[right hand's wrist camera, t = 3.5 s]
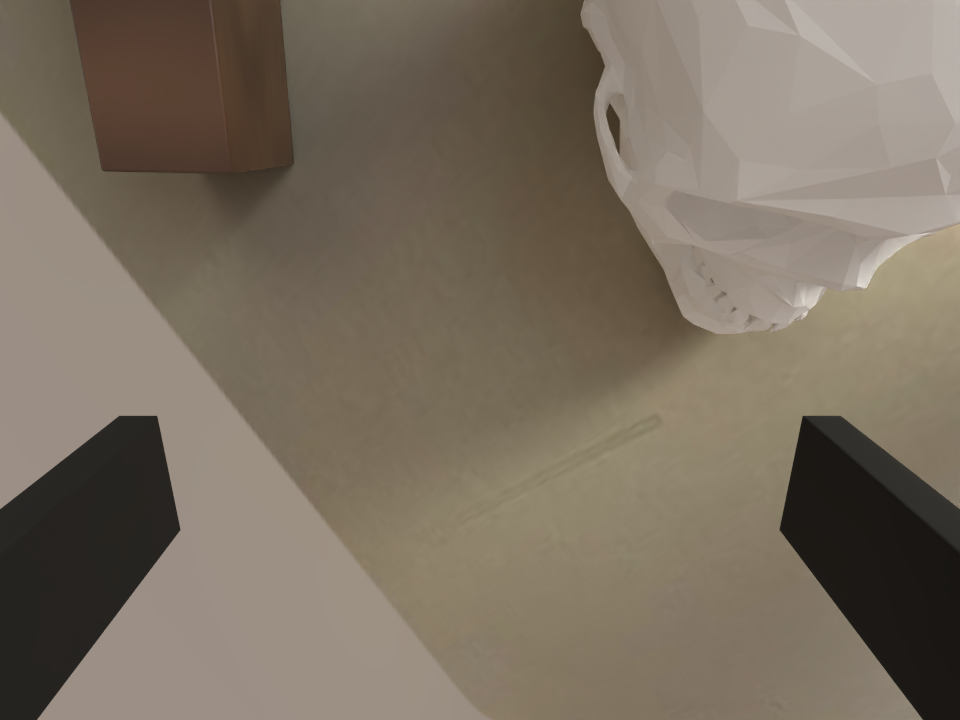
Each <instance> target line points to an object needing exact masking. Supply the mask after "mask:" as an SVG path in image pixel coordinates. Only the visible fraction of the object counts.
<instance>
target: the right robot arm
mask: <svg viewBox="0 0 960 720" xmlns="http://www.w3.org/2000/svg"><path fill="white" fill-rule="evenodd" d="M179 531H180V525H179V521H178V516H177V511H176V506H175V501H174V496H173V491H172V486H171V481H170V476H169V472H168V467H167V462H166V457H165V452H164V447H163V442H162V437H161V432H160V428H159V423H158V418H157V416H119V417H118V418H116V419H115V420H114V421H112V422H111V423H110V424H109V425H107V426H106V427H105V428H103V429H102V430H101V431H100V432H98V433H97V434H96V435H94V436H93V437H92V438H91V439H89V440H88V441H87V442H86V443H84V444H83V445H82V446H81V447H79V448H78V449H77V450H75V451H74V452H73V453H72V454H70V455H69V456H68V457H66V458H65V459H64V460H63V461H61V462H60V463H59V464H58V465H56V466H55V467H54V468H52V469H51V470H50V471H49V472H47V473H46V474H45V475H44V476H42V477H41V478H40V479H38V480H37V481H36V482H35V483H33V484H32V485H31V486H29V487H28V488H27V489H26V490H24V491H23V492H22V493H20V494H19V495H18V496H17V497H15V498H14V499H13V500H12V501H10V502H9V503H8V504H6V505H5V506H4V507H3V508H1V509H0V720H37V719H38V717H39V716H40V715H41V714H42V712H43V711H44V710H45V708H46V707H47V706H48V704H49V703H50V702H51V700H52V699H53V698H54V696H55V695H56V694H57V692H58V691H59V690H60V689H61V687H62V686H63V684H64V683H65V682H66V681H67V679H68V678H69V677H70V675H71V674H72V673H73V671H74V670H75V669H76V667H77V666H78V665H79V663H80V662H81V661H82V659H83V658H84V657H85V655H86V654H87V653H88V651H89V650H90V649H91V648H92V646H93V645H94V644H95V642H96V641H97V640H98V638H99V637H100V636H101V634H102V633H103V632H104V630H105V629H106V628H107V626H108V625H109V624H110V622H111V621H112V620H113V618H114V617H115V616H116V614H117V613H118V612H119V610H120V609H121V608H122V606H123V605H124V604H125V603H126V601H127V600H128V599H129V597H130V596H131V595H132V593H133V592H134V591H135V589H136V588H137V587H138V585H139V584H140V583H141V581H142V580H143V579H144V577H145V576H146V575H147V573H148V572H149V571H150V569H151V568H152V567H153V565H154V564H155V563H156V562H157V560H158V559H159V558H160V556H161V555H162V554H163V552H164V551H165V550H166V548H167V547H168V546H169V544H170V543H171V542H172V540H173V539H174V538H175V536H176V535H177V534H178V532H179ZM780 531H781V532H782V534H783V535H784V536H785V538H786V539H787V540H788V542H789V543H790V544H791V546H792V547H793V548H794V550H795V551H796V552H797V554H798V555H799V556H800V558H801V559H802V560H803V562H804V563H805V564H806V565H807V567H808V568H809V569H810V571H811V572H812V573H813V575H814V576H815V577H816V579H817V580H818V581H819V583H820V584H821V585H822V587H823V588H824V589H825V591H826V592H827V593H828V595H829V596H830V597H831V599H832V600H833V601H834V603H835V604H836V605H837V606H838V608H839V609H840V610H841V612H842V613H843V614H844V616H845V617H846V618H847V620H848V621H849V622H850V624H851V625H852V626H853V628H854V629H855V630H856V632H857V633H858V634H859V636H860V637H861V638H862V640H863V641H864V642H865V644H866V645H867V646H868V648H869V649H870V650H871V651H872V653H873V654H874V655H875V657H876V658H877V659H878V661H879V662H880V663H881V665H882V666H883V667H884V669H885V670H886V671H887V673H888V674H889V675H890V677H891V678H892V679H893V681H894V682H895V683H896V685H897V686H898V687H899V689H900V690H901V691H902V692H903V694H904V695H905V696H906V698H907V699H908V700H909V702H910V703H911V704H912V706H913V707H914V708H915V710H916V711H917V712H918V714H919V715H920V716H921V718H922V719H923V720H960V509H959V508H957V507H956V506H955V505H954V504H952V503H951V502H950V501H948V500H947V499H946V498H945V497H943V496H942V495H941V494H940V493H938V492H937V491H936V490H934V489H933V488H932V487H931V486H929V485H928V484H927V483H925V482H924V481H923V480H922V479H920V478H919V477H918V476H917V475H915V474H914V473H913V472H911V471H910V470H909V469H908V468H906V467H905V466H904V465H903V464H901V463H900V462H899V461H897V460H896V459H895V458H894V457H892V456H891V455H890V454H888V453H887V452H886V451H885V450H883V449H882V448H881V447H880V446H878V445H877V444H876V443H874V442H873V441H872V440H871V439H869V438H868V437H867V436H866V435H864V434H863V433H862V432H860V431H859V430H858V429H857V428H855V427H854V426H853V425H851V424H850V423H849V422H848V421H846V420H845V419H844V418H843V417H841V416H803V418H802V423H801V427H800V432H799V437H798V442H797V447H796V452H795V457H794V462H793V467H792V472H791V476H790V481H789V486H788V491H787V496H786V501H785V506H784V511H783V516H782V521H781V525H780Z"/></svg>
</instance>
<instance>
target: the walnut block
mask: <svg viewBox="0 0 960 720" xmlns="http://www.w3.org/2000/svg"><path fill="white" fill-rule="evenodd" d="M70 4H71V9H72V14H73V20H74V25H75V30H76V36H77V41H78V46H79V51H80V57H81V62H82V67H83V73H84V78H85V83H86V89H87V94H88V99H89V104H90V110H91V115H92V120H93V126H94V131H95V136H96V141H97V147H98V152H99V157H100V163H101V168H102V170H103V171H108V172H157V173H207V174H234V173H240V172H247V171H253V170H260V169H267V168H273V167H280V166H287V165H292V164H293V163H294V161H293V150H292V138H291V126H290V114H289V102H288V90H287V78H286V66H285V54H284V42H283V30H282V18H281V7H280V0H70Z"/></svg>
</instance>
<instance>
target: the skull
mask: <svg viewBox="0 0 960 720" xmlns="http://www.w3.org/2000/svg"><path fill="white" fill-rule="evenodd" d="M580 16H581V20H582V24H583V27H584V28H585V29H587V30H588V32H589V34H590V36H591V38H592V40H593V42H594V44H595V46H596V48H597V50H598V51H599V52H600V53H601V56H602V59H603V62H604V64H605V68H604V71H603V74H602V77H601V80H600V83H599V85H598V88H597V90H596V92H595V101H594V111H593V114H594V121H595V128H596V134H597V139H598V143H599V147H600V150H601V154H602V158H603V162H604V166H605V170H606V174H607V177H608V180H609V182H610V183H611V185H612V187H613V188H614V190H615V192H616V193H617V195H618V196H619V198H620V200H621V201H622V202H623V204H624V205H625V206H626V207H627V208H628V210H629V211H630V213H631V215H632V217H633V219H634V221H635V223H636V226H637V228H638V230H639V231H640V233H641V234H642V236H643V238H644V239H645V241H646V242H647V244H648V246H649V247H650V249H651V250H652V252H653V254H654V255H655V257H656V258H657V260H658V262H659V263H660V265H661V266H662V268H663V270H664V272H665V275H666V277H667V280H668V283H669V285H670V288H671V290H672V292H673V295H674V297H675V300H676V302H677V304H678V306H679V309H680V311H681V313H682V316H683V317H684V318H686V319H687V320H688V321H690V322H691V323H692V324H694V325H696V326H698V327H701V328H703V329H706V330H708V331H711V332H713V333H716V334H719V335H722V334H736V333H744V332H749V331H766V330H768V329H769V328H771V323H775V324H774V325H773V327H772V329H771V330H770V332H773V331H776V330H780V329H783V328H786V327H788V326H789V325H790V323H792V322H793V321H794V320H802V319H803V318H804V317H806V315H807V313H808V310H810V309H811V308H812V307H813V306H814V305H815V304H816V303H817V302H818V301H819V299H820V298H821V297H822V295H823V294H824V293H825V291H826V290H827V288H829V289H833V290H836V291H839V292H843V291H851V290H859V289H866V288H867V286H868V284H869V282H870V280H871V278H872V276H873V275H874V273H875V271H876V269H877V267H878V266H880V265H881V264H882V263H883V262H885V261H886V260H887V259H888V258H890V257H891V256H892V255H893V254H895V253H896V252H897V251H898V250H900V249H901V248H902V247H904V246H905V245H907V244H909V243H911V242H913V241H916V240H919V239H921V238H924V237H927V236H930V235H933V234H935V233H937V232H939V231H941V230H943V229H945V228H948V227H951V226H953V225H956V224H959V223H960V0H584V2H583V6H582V10H581V14H580ZM609 103H610V104H611V105H612V107H613V109H614V111H615V112H616V114H617V116H618V117H619V119H620V155H619V153H618V152H617V148H616V145H615V142H614V138H613V136H612V134H611V132H610V130H609V126H608V122H607V118H606V112H607V109H608V106H609ZM724 292H725V293H726V294H725V293H724ZM770 332H769V333H770Z"/></svg>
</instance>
